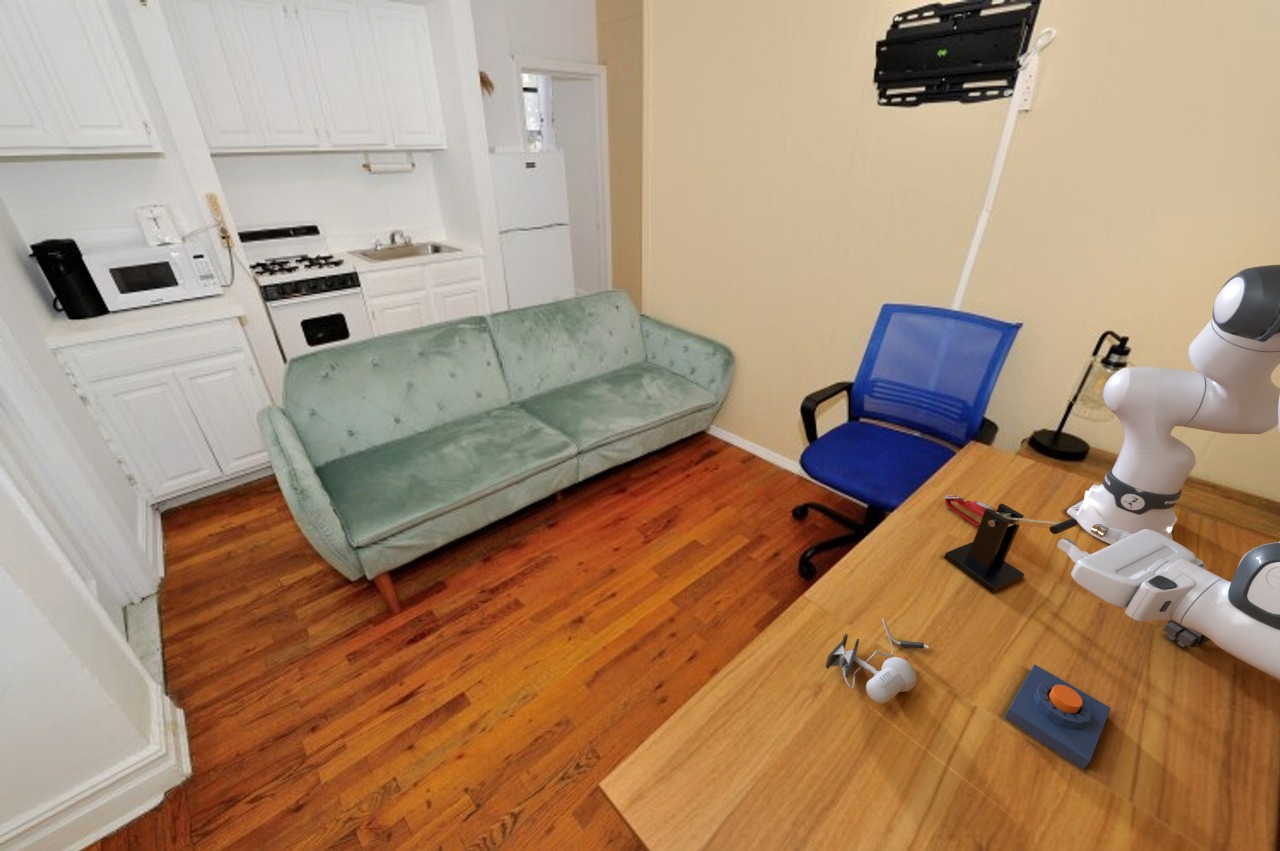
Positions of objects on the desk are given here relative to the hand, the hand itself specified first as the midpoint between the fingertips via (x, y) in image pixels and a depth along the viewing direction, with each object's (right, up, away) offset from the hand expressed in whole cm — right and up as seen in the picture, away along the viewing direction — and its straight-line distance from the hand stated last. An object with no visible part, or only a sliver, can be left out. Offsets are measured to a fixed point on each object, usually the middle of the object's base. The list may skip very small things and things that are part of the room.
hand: (1077, 534), depth 88 cm
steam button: (-12, -23, -12) cm, 29 cm away
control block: (-12, -26, -10) cm, 31 cm away
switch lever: (-3, -1, +7) cm, 8 cm away
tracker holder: (+4, -3, +34) cm, 35 cm away
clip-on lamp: (-36, -23, -2) cm, 43 cm away
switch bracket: (-4, -11, +18) cm, 22 cm away
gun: (+27, -18, +4) cm, 33 cm away
